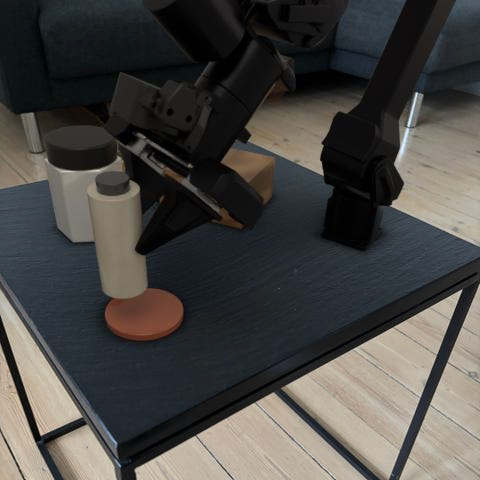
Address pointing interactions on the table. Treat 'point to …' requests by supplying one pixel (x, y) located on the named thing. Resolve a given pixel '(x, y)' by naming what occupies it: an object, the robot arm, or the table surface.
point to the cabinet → (244, 176)
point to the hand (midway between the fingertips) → (126, 242)
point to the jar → (77, 174)
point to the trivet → (145, 315)
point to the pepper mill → (118, 234)
